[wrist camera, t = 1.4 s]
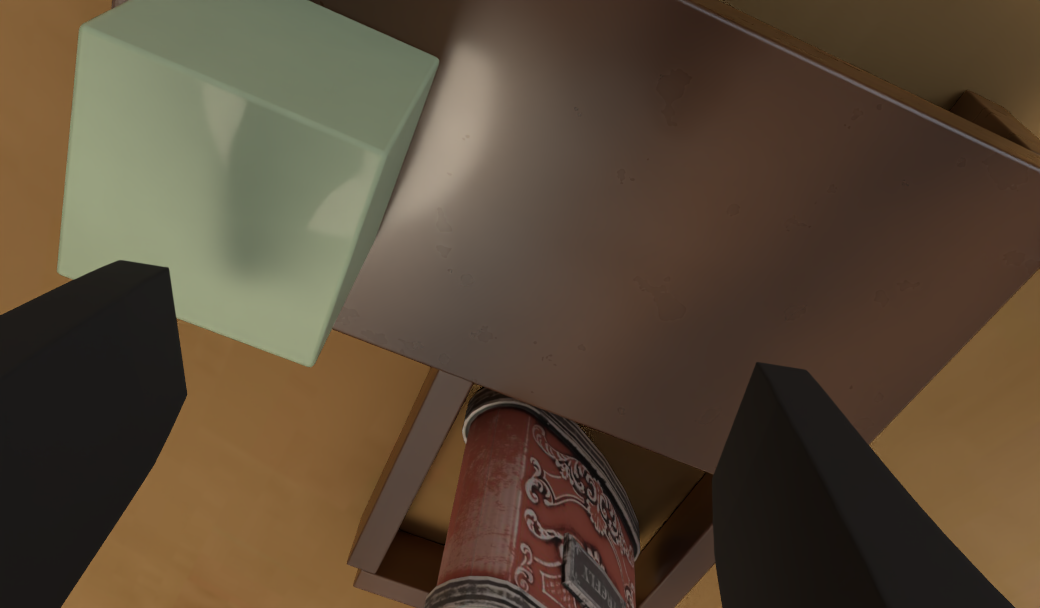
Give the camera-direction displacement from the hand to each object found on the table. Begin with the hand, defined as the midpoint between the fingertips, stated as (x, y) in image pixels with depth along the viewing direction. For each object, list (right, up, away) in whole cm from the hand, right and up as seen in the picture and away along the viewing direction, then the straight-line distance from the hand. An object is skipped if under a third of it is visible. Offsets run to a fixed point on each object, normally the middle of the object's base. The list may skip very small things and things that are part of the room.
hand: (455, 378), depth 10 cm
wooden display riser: (0, 0, +12) cm, 12 cm away
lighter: (+2, -4, +15) cm, 16 cm away
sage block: (-3, +4, +4) cm, 7 cm away
